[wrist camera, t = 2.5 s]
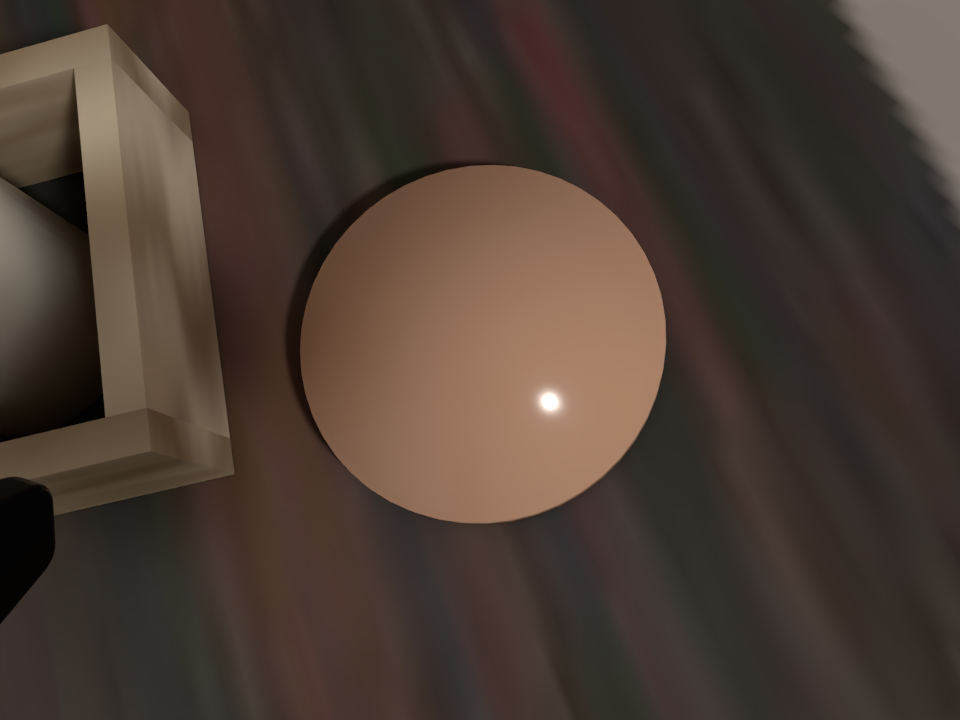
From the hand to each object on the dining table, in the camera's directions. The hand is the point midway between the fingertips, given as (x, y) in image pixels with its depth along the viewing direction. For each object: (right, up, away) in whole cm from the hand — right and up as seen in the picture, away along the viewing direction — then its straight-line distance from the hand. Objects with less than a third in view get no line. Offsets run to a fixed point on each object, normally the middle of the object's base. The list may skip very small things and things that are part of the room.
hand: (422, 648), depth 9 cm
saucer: (+1, +3, +15) cm, 15 cm away
